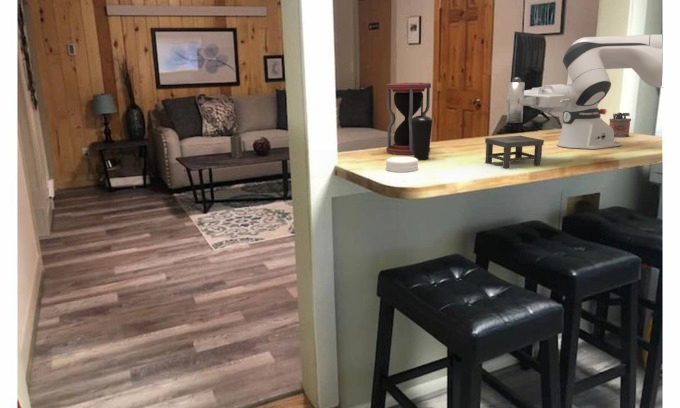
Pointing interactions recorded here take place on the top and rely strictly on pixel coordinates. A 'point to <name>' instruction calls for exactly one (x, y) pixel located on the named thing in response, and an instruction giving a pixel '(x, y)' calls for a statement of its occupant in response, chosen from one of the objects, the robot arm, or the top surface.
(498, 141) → the stool
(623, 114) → the lighter
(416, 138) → the drinking cup
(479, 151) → the top surface
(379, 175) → the top surface
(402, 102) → the hourglass
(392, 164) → the coaster
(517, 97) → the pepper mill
